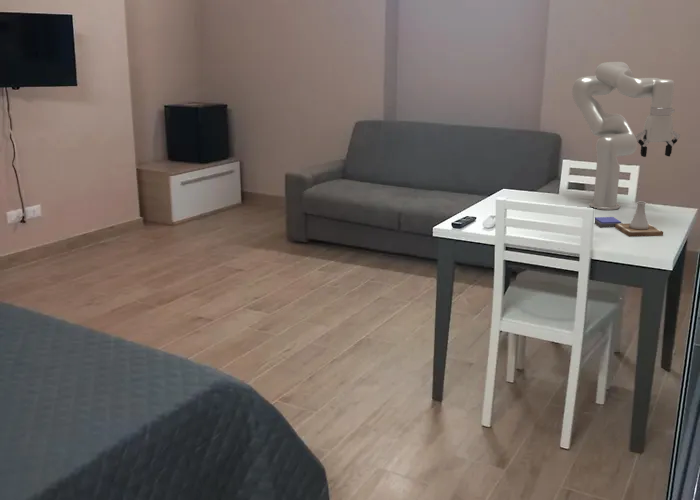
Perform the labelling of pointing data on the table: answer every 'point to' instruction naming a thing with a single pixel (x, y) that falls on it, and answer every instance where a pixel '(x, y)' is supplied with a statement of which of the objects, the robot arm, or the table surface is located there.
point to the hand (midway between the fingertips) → (655, 156)
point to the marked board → (638, 230)
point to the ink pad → (606, 222)
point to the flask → (639, 217)
